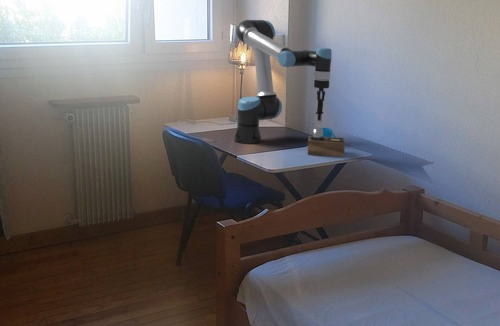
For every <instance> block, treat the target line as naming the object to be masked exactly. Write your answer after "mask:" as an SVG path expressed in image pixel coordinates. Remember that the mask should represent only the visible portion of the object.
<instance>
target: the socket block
mask: <svg viewBox="0 0 500 326" xmlns="http://www.w3.org/2000/svg"><path fill="white" fill-rule="evenodd" d="M335 137H336V136H335ZM335 137H333V136H332V137H323V139H322V140H315V139H313V135H308V140H307V141H308V142H307V144H308V145H307V156H309V155H310V156H311V155H312V156H322V157H323V156H324V157H340V158H343V157H344V156H345V147H346V143H345V137H336V138H335ZM330 139H340V141H331V140H330Z"/></svg>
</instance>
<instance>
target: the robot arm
mask: <svg viewBox="0 0 500 326" xmlns="http://www.w3.org/2000/svg"><path fill="white" fill-rule="evenodd" d="M235 30H236V31H235V33H236V36H237V39H238V40H239V41H241V42H242V43H244V44H245V45H247V46H250V47H251V48H252V50H253V54H254V55H253V57H254V65H255V76H256V85H257V86H256V88H257V94H256V95H255V96H246V97H242V98H240V99H239V100H238V103H237V104H238V105H237V126H236V129H235V132H234V135H233V141H234V142H235V143H240V144H241V143H242V144H258V143H259V144H260V143H261V142H262V134H261V131H260V121H265V120H274V119H276V118H278V117H279V116H280V114H281V113H282V109H283V103H282V101H281V100H280V98H279V97H277V93H276V92H275V91H274V85H273V74H272V73H273V71H272V64H271V63H272V62H271V58H273V59H275V60H276V61H278V63H279V65H280V66H281V67H284V68H285V67H286V68H291V67H306V66H307V67H314V72H313V75H314V80H313V81H314V82H313V87H314V88H316V89H318V90H317V91H316V96H317V97H316V100H317V108H316V112H315V115H316V120H315V127H317V128H322V124H323V123H322V120H323V114H324V111H323V109H324V108H323V107H324V101H325V95H326V91H325V89H329V88H330V78H331V66H332V58H333V57H332V49H331V48H329V47H317V48H316V51H315V50H308V49H301V50H292V49H290V48H288V47H286V46H285V45H283V44H281V43H279V42H277V41H276V40H274V39H275V36H276V31H275V30H276V29H275V27H274V25H273V24H272V23H271V22H270V21H269V20H264V19H245V20H242V21H241V22H240V23H238V24H237V26H236V29H235Z"/></svg>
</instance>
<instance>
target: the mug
mask: <svg viewBox="0 0 500 326" xmlns="http://www.w3.org/2000/svg"><path fill="white" fill-rule="evenodd" d="M319 128H320V129H323V137H335V138H337V136H336V135H335V133H334V132H333V129H332V128H330V127H329V128H328V127H319Z"/></svg>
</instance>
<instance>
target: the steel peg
mask: <svg viewBox="0 0 500 326" xmlns="http://www.w3.org/2000/svg"><path fill="white" fill-rule="evenodd" d="M320 128H321V127H317V128H313V131H312V136H313V139H315V140H322V139H323V129H320Z"/></svg>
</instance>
